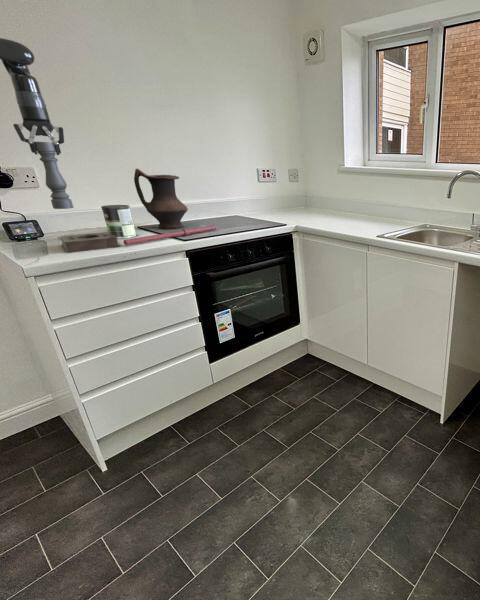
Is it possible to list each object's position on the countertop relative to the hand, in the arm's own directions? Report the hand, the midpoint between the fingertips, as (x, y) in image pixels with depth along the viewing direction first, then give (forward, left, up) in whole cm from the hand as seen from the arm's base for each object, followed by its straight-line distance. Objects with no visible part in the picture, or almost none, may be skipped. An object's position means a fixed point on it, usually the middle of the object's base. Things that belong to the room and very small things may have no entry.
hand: (47, 154), depth 137 cm
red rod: (+35, -12, -36) cm, 51 cm away
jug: (+41, +19, -36) cm, 57 cm away
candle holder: (0, 0, -21) cm, 21 cm away
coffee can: (+18, +5, -36) cm, 40 cm away
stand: (+4, -10, -35) cm, 37 cm away
